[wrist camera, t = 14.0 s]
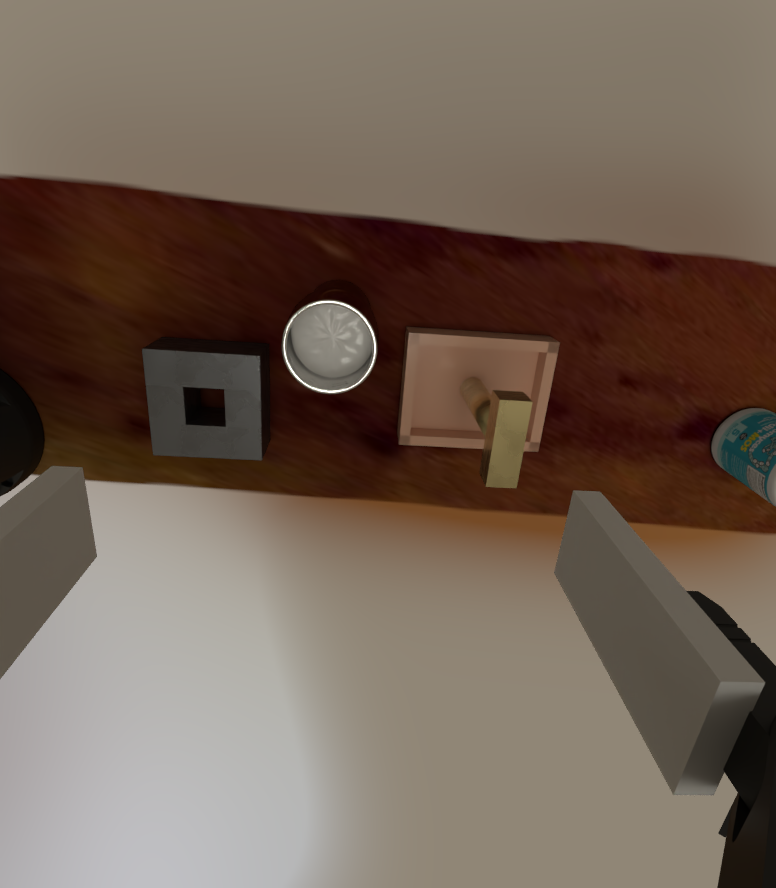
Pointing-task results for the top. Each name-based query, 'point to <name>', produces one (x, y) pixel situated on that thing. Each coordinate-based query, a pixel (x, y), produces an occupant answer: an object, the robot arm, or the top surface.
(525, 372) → the pale pink tray
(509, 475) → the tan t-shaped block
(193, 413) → the grey square block
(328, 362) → the beer glass
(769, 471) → the pill bottle
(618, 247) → the top surface
